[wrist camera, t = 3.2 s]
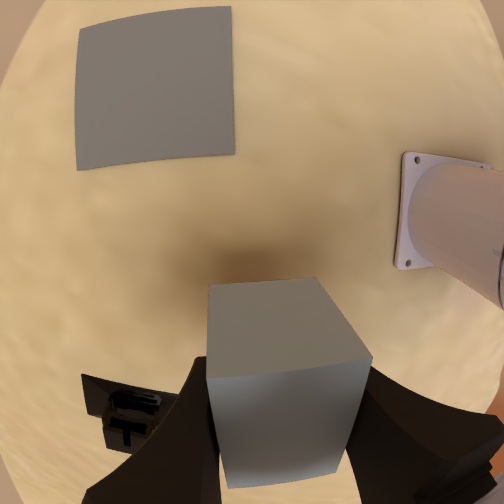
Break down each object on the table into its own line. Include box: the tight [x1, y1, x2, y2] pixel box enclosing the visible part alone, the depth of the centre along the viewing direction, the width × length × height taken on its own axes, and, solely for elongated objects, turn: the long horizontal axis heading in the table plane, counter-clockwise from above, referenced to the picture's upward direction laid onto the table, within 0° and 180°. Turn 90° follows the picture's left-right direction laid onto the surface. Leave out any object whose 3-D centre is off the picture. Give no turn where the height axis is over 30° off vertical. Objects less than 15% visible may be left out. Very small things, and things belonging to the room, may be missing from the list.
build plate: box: [81, 374, 179, 454], centre depth 19 cm, size 12×7×5 cm, turn 77°
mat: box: [75, 6, 235, 171], centre depth 14 cm, size 9×9×1 cm
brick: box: [206, 277, 373, 489], centre depth 10 cm, size 4×6×5 cm, turn 1°
